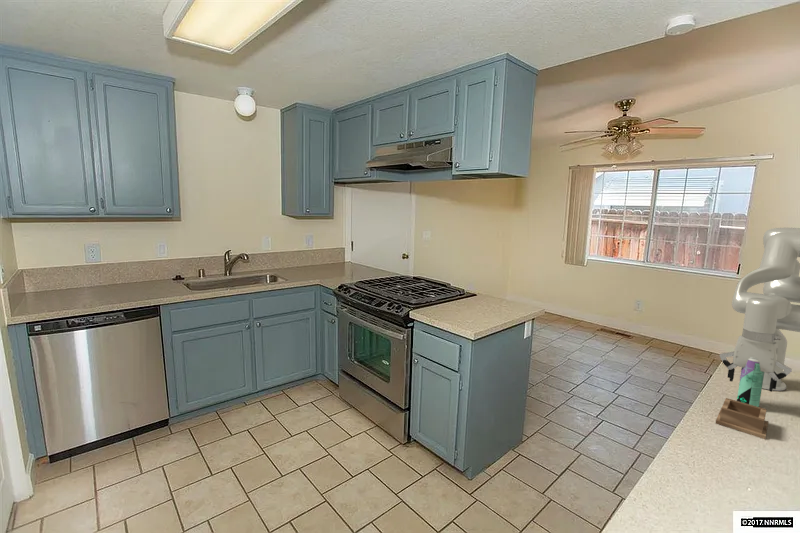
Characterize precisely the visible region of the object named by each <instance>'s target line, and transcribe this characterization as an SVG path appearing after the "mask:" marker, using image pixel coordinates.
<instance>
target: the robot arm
mask: <svg viewBox="0 0 800 533" xmlns="http://www.w3.org/2000/svg"><path fill="white" fill-rule="evenodd" d="M762 240H763V241H762V242H763V243H762V244H763V249H764V250H763V254H762V258H761V261H760V265H759V267H757V268H756V269H754V270H752V271H750V272H749V273H747V274H745V275H744V276H743V277H742V278H740V280H739V281H738V283H737V285H736V286H735V289H734V293H733V296H732V301H731V306H732V309H733V310H734V311H735V312H736V313H739V314H744V319H743V324H742V325H743V327H742V332H741V333H742V334H741V335H739V336H738V338H737V340H736V343H735V348H734V351H729V352H722V353H720V354H719V355H718V356H719V358H720V360H721V361H722V364H724V366H725V367H726V368H727V378H729V382H733V381H734V376H735V372H736V370H735V368H736V367H739V368H742V367H743V368H744V367H745V366H746V364H747V361H748V359H751V358H750V357H753V358H758V359H757V360H758V361H759V363H760V371H761V372H764V378H763V384H762V389H764V390H768V391H769V392H771V393H772V392H773V391H785V390H787V384H786V383H785V382H784V381H782V379H785V378H786V377H787V376H788V375H790V374H791V373H792V369H793V368H791V367H789V366H787V364H786V365H785V359H786V352H787V347H788V340H787V338H786V336H785V335H784V333H783V332H782V331H781V330H785V331H790V332H796V333H800V262H799V261H798V258H800V227H775V228H774V227H773V228H769V229H767V230H766V231H765V232H764V234H763V238H762ZM760 284H763V287H762V293H757V292H751V291H749V292H748V290H749V289H750V288H752V287H754V286H756V285H757V286H758V285H760ZM794 303H796V304H794ZM729 357H730V358H731V357H732V362H731V361H729V360H728V359H727V358H729ZM740 376H741V374H740V375H739V377H740Z"/></svg>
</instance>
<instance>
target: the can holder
mask: <svg viewBox="0 0 800 533" xmlns="http://www.w3.org/2000/svg"><path fill="white" fill-rule="evenodd" d="M766 414H767V409H766V408H763V407H760V406H759V407H757V406H753V405H750V404H746V403H742V402H739V401H737V400H736V399H735V400H734V399H731V398H728V397H725V398H724V402H723V404H722V406H721V408H720V410H719V412H718V415H717V417H716V420H715V424H716V425H719V426H722V427H726V428H729V429H732V430H735V431H738V432H742V433H744V434H747V435H751V436H753V437H756V438H760V439H763V440H766V438H767V432H768V431H767V430H768V425H769V420H766Z"/></svg>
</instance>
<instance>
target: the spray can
mask: <svg viewBox="0 0 800 533" xmlns="http://www.w3.org/2000/svg"><path fill="white" fill-rule="evenodd" d="M750 358H751V359H748V361H747V364H746V366H745V367H744V368H743V367H741V370H740V375H741V376H740V375H739V383H738V384H739V385H738V390H737V397H736V401H739V402H742V403H746V404H750V405H753V406H757V407H760V403H761V395H762V389H763V388H762V384H763V378H764V372H761V371H760V363H759V361H758V360H757V359H758V358H753V357H750Z"/></svg>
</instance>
